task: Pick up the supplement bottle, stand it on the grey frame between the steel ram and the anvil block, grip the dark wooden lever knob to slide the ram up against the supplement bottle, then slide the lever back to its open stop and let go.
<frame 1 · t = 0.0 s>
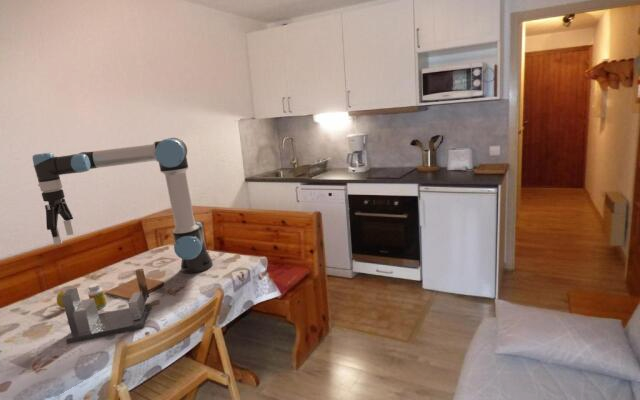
hand: (64, 239, 168), 28 cm above the table, tool pointing down, fingers open, 13 cm apart
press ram: (138, 292, 152), point 9 cm above the table, slide at 0.0 cm
lemon: (67, 308, 166), on the table
supplement bottle: (99, 307, 164), on the table
grey frame: (112, 325, 147), on the table
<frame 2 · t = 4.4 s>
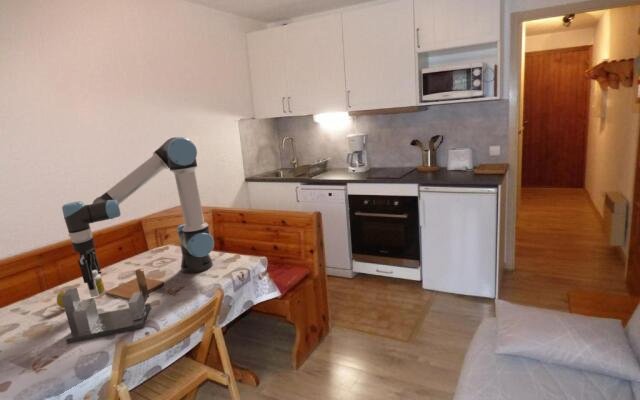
hand: (97, 292, 163), 6 cm above the table, tool pointing down, fingers closed on supplement bottle, 5 cm apart
supplement bottle: (98, 293, 163), point 6 cm above the table, touching gripper
everything else where it was.
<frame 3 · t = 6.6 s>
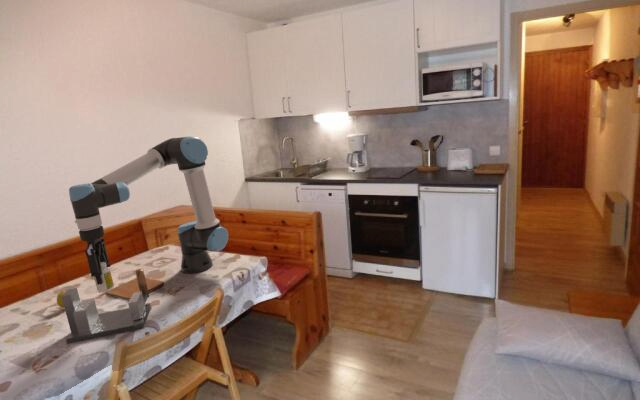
hand: (105, 288, 144), 15 cm above the table, tool pointing down, fingers closed on supplement bottle, 5 cm apart
supplement bottle: (106, 289, 144), point 14 cm above the table, touching gripper
everything else where it was.
when the fingers open (3 cm above the table, at t = 9.1 s): supplement bottle stays where it is, resting on grey frame.
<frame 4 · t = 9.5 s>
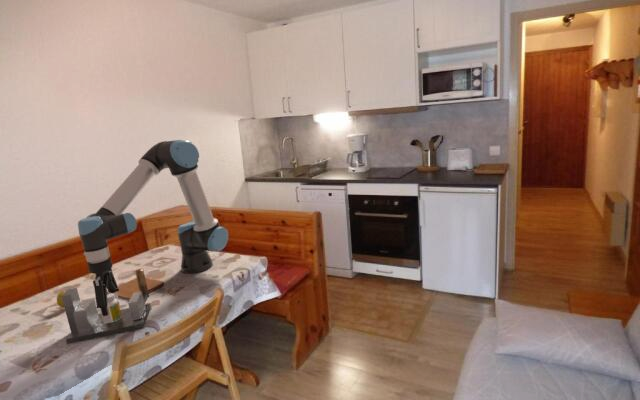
hand: (112, 315, 146), 4 cm above the table, tool pointing down, fingers open, 10 cm apart
supplement bottle: (114, 320, 147), point 2 cm above the table, touching grey frame
everything else where it was.
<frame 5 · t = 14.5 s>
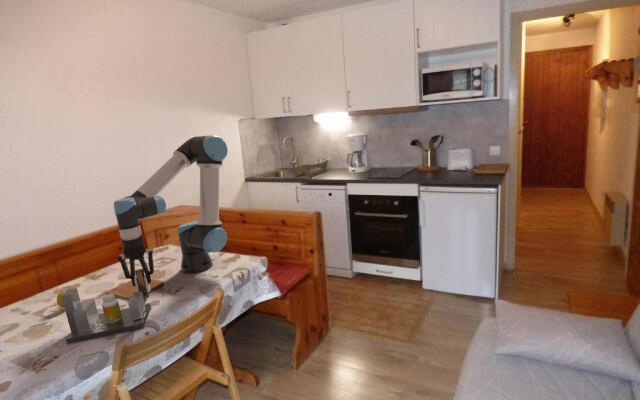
hand: (144, 291, 160), 6 cm above the table, tool pointing down, fingers closed on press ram, 3 cm apart
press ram: (138, 292, 152), point 9 cm above the table, slide at 0.0 cm, touching gripper
everything else where it was.
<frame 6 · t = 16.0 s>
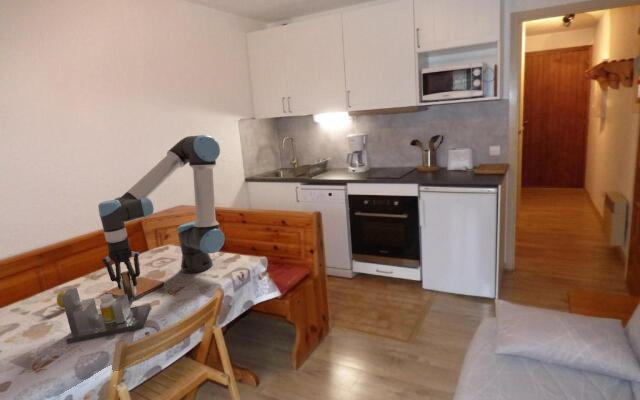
hand: (130, 294, 159), 6 cm above the table, tool pointing down, fingers closed on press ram, 3 cm apart
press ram: (123, 295, 151), point 9 cm above the table, slide at 5.4 cm, touching supplement bottle, gripper
supplement bottle: (112, 320, 147), point 2 cm above the table, touching grey frame, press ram
everything else where it was.
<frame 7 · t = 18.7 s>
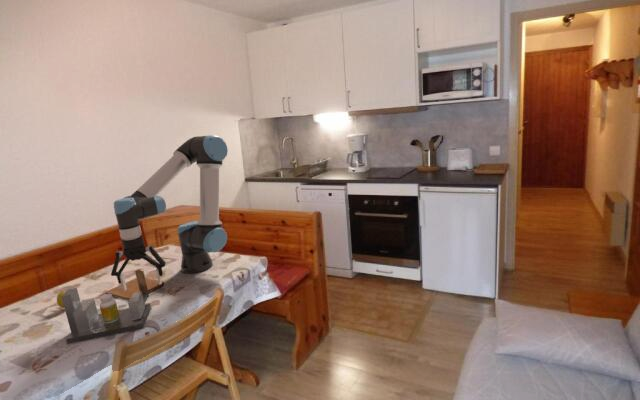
hand: (142, 286, 160), 8 cm above the table, tool pointing down, fingers open, 13 cm apart
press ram: (138, 292, 152), point 9 cm above the table, slide at 0.0 cm
supplement bottle: (111, 320, 147), point 2 cm above the table, touching grey frame
everything else where it was.
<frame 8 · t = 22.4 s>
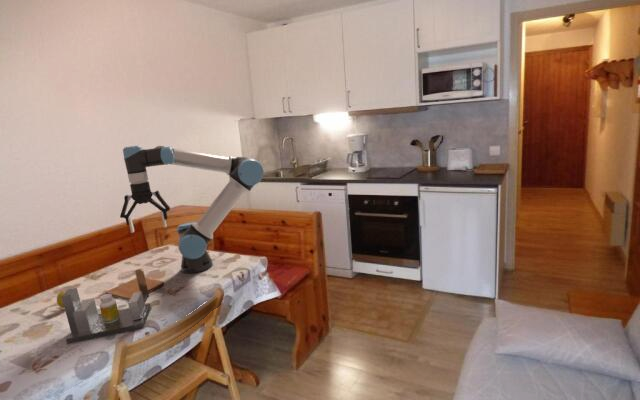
hand: (149, 229, 173), 27 cm above the table, tool pointing down, fingers open, 13 cm apart
nothing on the table moved.
at the end: supplement bottle inside the target area on the grey frame (0.1 cm from its centre), point 1.8 cm above the grey frame's base; supplement bottle tilted 0°; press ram slide at 0.0 cm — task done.
